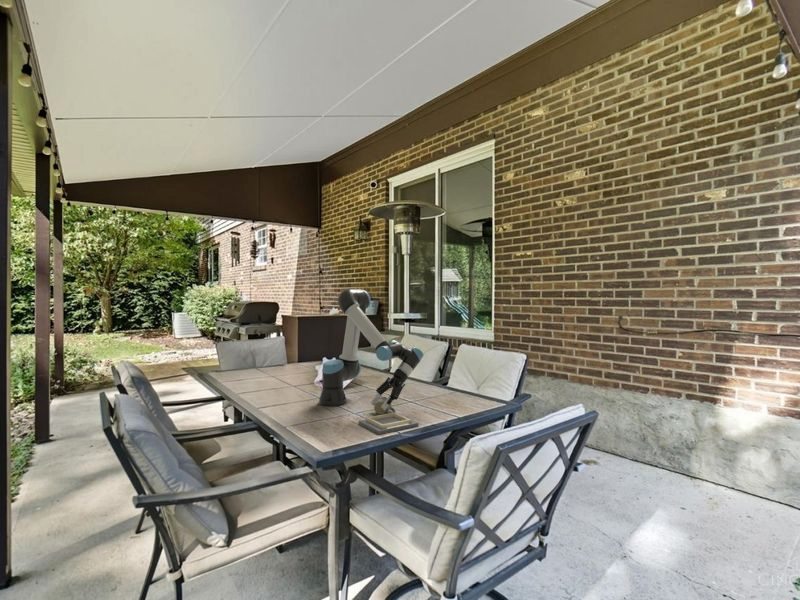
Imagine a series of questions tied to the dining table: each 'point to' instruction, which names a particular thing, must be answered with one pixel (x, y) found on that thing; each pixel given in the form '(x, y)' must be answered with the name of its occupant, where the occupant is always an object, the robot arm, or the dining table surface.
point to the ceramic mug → (379, 409)
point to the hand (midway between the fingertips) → (377, 406)
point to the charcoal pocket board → (387, 423)
